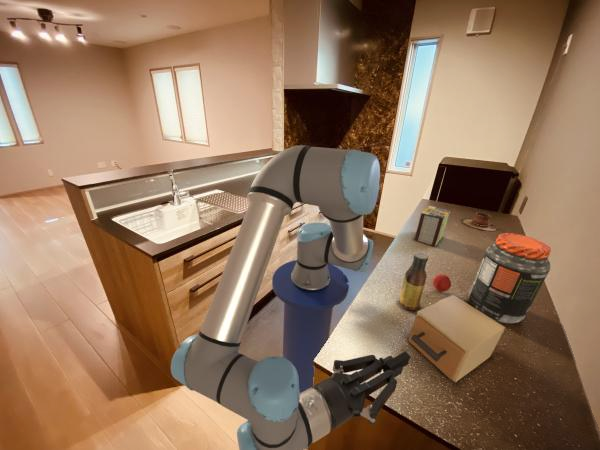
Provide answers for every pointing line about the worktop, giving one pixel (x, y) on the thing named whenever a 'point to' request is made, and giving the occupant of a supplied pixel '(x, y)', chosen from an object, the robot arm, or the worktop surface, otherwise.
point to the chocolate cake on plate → (480, 221)
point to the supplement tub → (510, 277)
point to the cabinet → (464, 330)
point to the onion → (442, 282)
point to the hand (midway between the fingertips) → (406, 357)
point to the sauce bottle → (414, 282)
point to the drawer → (436, 347)
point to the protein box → (431, 225)
